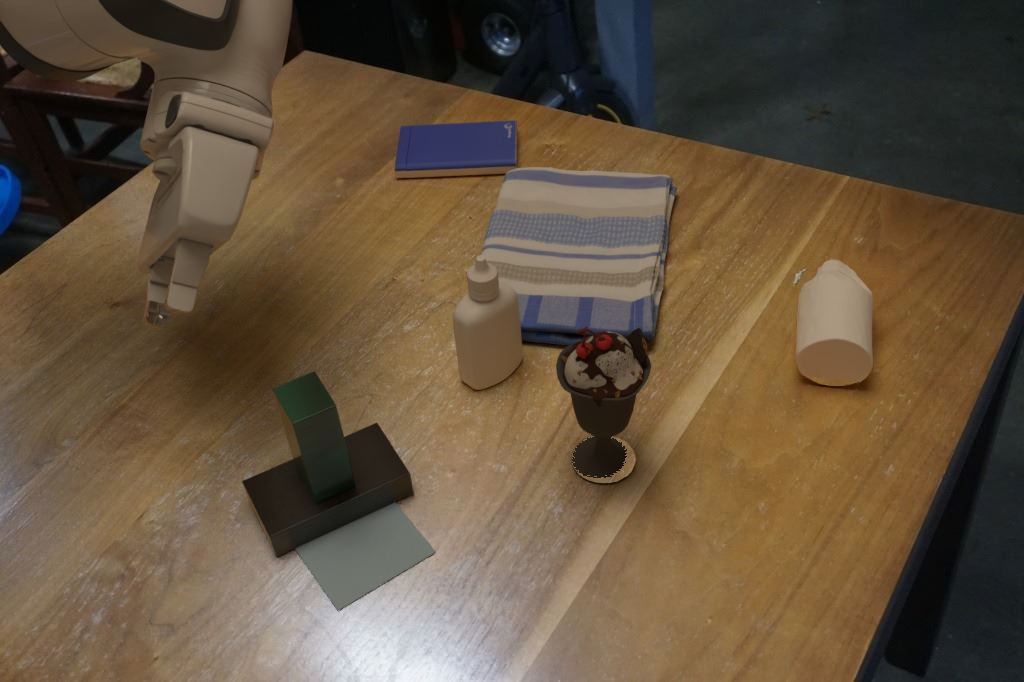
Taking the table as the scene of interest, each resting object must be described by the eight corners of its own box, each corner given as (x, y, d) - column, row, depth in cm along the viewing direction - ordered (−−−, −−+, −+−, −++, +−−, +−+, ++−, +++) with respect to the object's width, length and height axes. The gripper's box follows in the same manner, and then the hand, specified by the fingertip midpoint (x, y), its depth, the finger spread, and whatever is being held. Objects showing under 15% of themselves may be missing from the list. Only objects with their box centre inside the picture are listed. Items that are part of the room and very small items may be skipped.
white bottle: (866, 293, 96) (877, 243, 92) (867, 391, 88) (879, 340, 84) (796, 287, 97) (804, 236, 93) (790, 383, 89) (798, 332, 85)
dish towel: (677, 191, 108) (679, 167, 106) (657, 357, 92) (658, 333, 90) (505, 181, 111) (503, 158, 109) (455, 340, 95) (452, 316, 93)
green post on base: (276, 557, 79) (241, 457, 72) (248, 501, 83) (213, 400, 75) (414, 493, 83) (394, 392, 75) (381, 442, 86) (359, 341, 79)
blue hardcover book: (516, 118, 117) (400, 123, 118) (516, 161, 111) (394, 167, 112) (517, 130, 118) (402, 136, 119) (517, 174, 112) (396, 180, 113)
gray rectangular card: (261, 501, 83) (261, 500, 83) (354, 451, 86) (354, 451, 86) (337, 611, 76) (337, 610, 76) (435, 552, 79) (435, 551, 79)
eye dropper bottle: (453, 359, 93) (438, 248, 85) (518, 345, 94) (509, 234, 86) (464, 395, 90) (450, 283, 82) (531, 380, 91) (523, 268, 82)
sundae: (550, 486, 82) (543, 341, 72) (571, 421, 87) (566, 276, 77) (637, 502, 81) (642, 355, 71) (654, 435, 86) (660, 288, 75)
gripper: (140, 162, 90) (103, 325, 87) (188, 86, 72) (142, 289, 69) (217, 183, 93) (183, 342, 90) (281, 115, 75) (240, 312, 72)
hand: (165, 319), depth 80 cm, fingers open, 8 cm apart
